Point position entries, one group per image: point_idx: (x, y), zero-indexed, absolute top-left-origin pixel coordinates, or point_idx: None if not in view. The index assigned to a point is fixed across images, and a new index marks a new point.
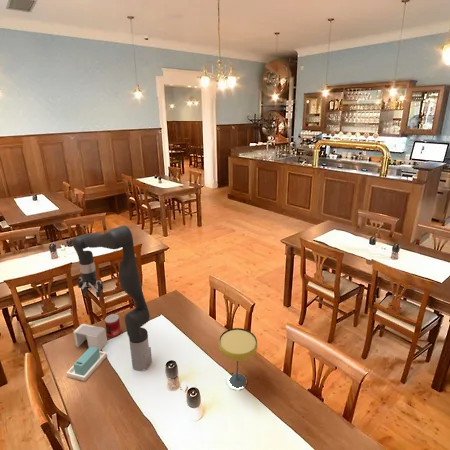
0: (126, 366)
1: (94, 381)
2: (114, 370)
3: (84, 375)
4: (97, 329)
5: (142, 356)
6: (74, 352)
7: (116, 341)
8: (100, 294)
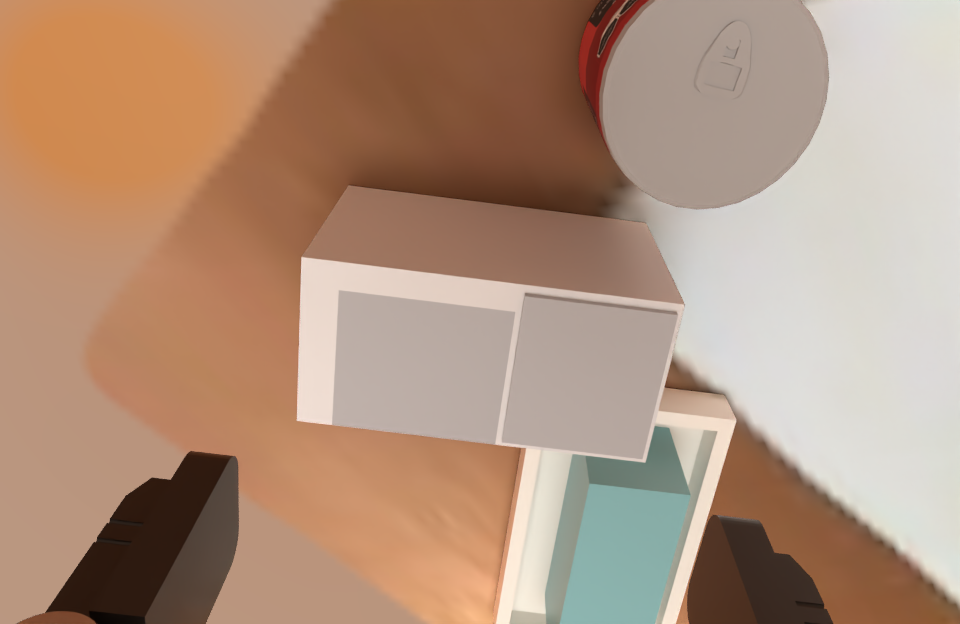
0: (951, 475)
1: None
2: (853, 521)
3: None
4: (593, 352)
5: None
6: None
7: None
8: (813, 601)
